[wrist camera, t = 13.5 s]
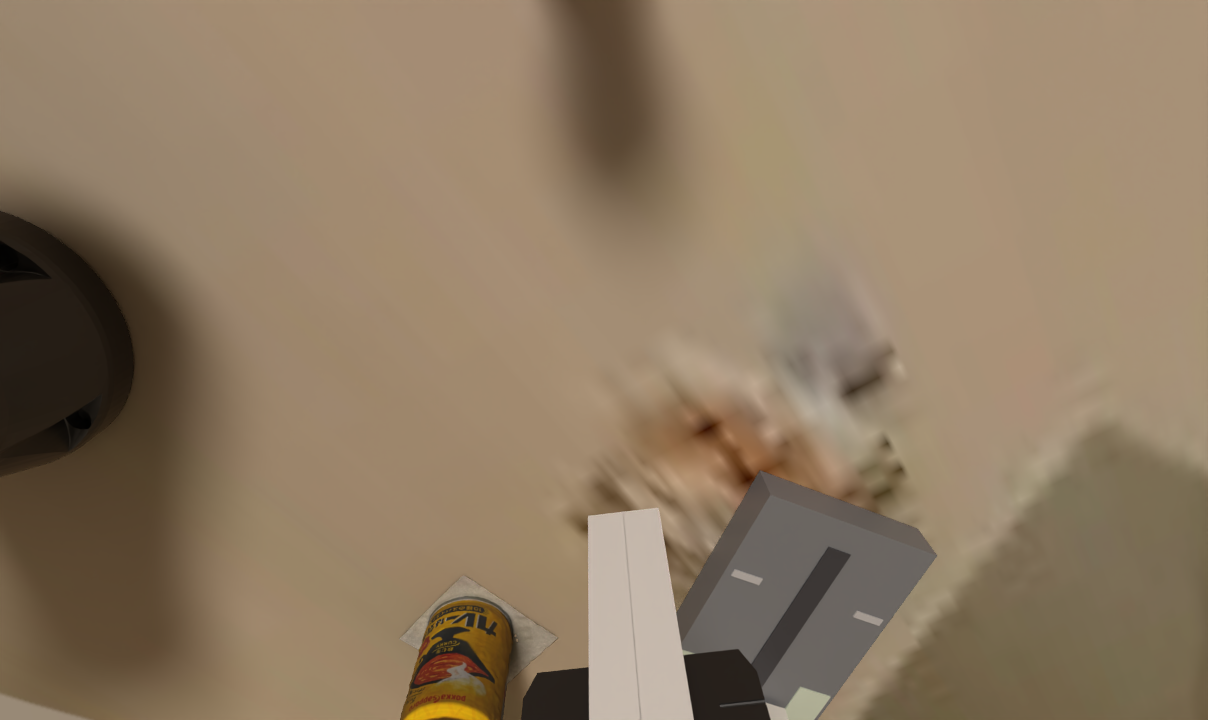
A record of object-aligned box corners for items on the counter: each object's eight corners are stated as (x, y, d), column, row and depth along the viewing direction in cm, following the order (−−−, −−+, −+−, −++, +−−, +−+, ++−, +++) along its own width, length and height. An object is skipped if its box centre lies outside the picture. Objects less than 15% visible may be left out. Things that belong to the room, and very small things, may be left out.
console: (760, 470, 45) (770, 495, 42) (917, 529, 47) (938, 556, 44) (581, 775, 55) (581, 811, 53) (717, 812, 57) (724, 849, 55)
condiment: (463, 573, 48) (426, 725, 37) (558, 636, 50) (550, 797, 39) (399, 636, 50) (346, 799, 39) (494, 694, 52) (469, 863, 41)
